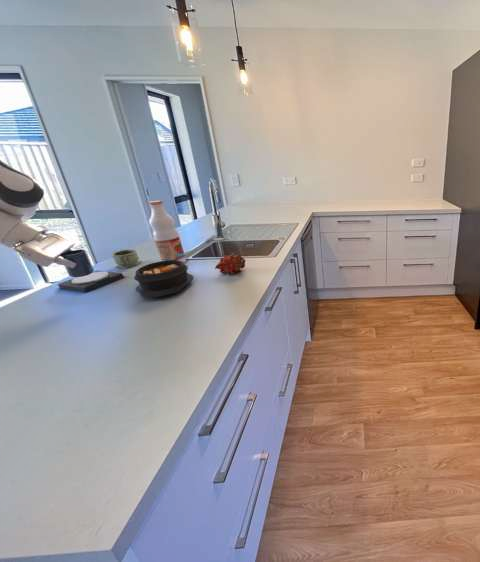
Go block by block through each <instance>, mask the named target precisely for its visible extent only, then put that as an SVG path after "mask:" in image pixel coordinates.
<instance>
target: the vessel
mask: <svg viewBox="0 0 480 562" xmlns="http://www.w3.org/2000/svg"><path fill="white" fill-rule="evenodd" d="M111 256H112V258H113V261H114V263H115V264H116V265H118V267H117V268H121V269H122V268H123V269H125V268H131V267H134V266H137V265H138V264H140V262H139V260H140V257H139V256H138V253H137V250H136V249H133V248H132V249H131V248H128V249H121V250H118V251H117V250H116V251H114V252H113V253H111Z"/></svg>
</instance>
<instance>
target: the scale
mask: <svg viewBox="0 0 480 562" xmlns="http://www.w3.org/2000/svg"><path fill="white" fill-rule="evenodd" d="M121 279H124V275H123V273H122V272H116V271H115V272H114V271H106V270H97V269H96V270H94V271H93V272H92V273H91V274H89V275H87V276H83V277H73V278H70V279H68V280H65V281H63V282H59V283H57V285H58V288H59V289H60V290H66V291H73V292H80V293H88V292H91V291H93V290H96V289H99V288H101V287H103V286H106V285H109V284H112V283H114V282H116V281H120V280H121Z"/></svg>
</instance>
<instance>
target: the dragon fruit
mask: <svg viewBox="0 0 480 562" xmlns="http://www.w3.org/2000/svg"><path fill="white" fill-rule="evenodd" d="M245 267H246V259H245V258H244V257H243V256H241V255H238V254H235V253H231V254H230V255H227V254H226V255H224V256H223V257H221V258H220V260H219V262H218V263H217V264H216V265H215V267H214V270H219V273H220V274H221V273H222V274H230V273H231V275H234V274H235V273H239V272H241V269H244V268H245Z"/></svg>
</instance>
